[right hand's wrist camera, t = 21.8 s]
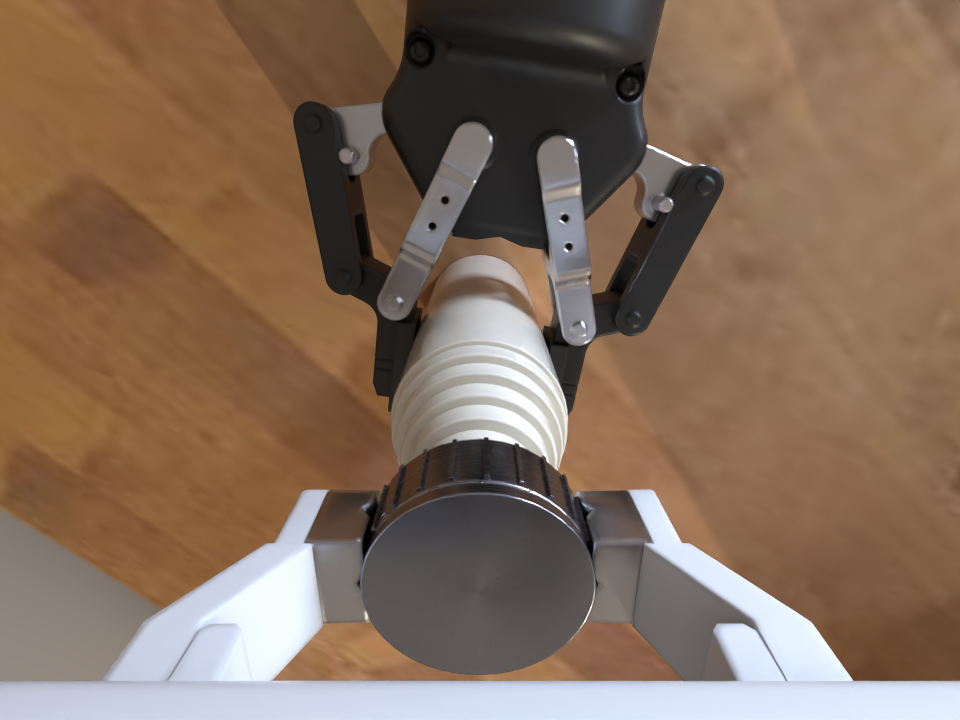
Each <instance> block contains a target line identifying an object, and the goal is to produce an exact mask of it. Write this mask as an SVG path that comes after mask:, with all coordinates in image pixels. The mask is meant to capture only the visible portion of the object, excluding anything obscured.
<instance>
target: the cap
mask: <svg viewBox="0 0 960 720" xmlns="http://www.w3.org/2000/svg"><path fill="white" fill-rule="evenodd" d="M370 529H371V538H370V541H369V545H368V548H367V551H366V555H365V558H364V562H363V566H362V569H361V578H360V586H361V595H362V600H363V604H364V607H365V610H366V612H367V614H368V617H369V619H370V620H371V622H372V623H373V625H374V627H375V628H376V629H377V631H378V632H379V633H380V634H381V636H382V637H383V638H384V639H385V640H386V641H387V642H388V643H390V644H391V645H392V646H393V647H394V648H396V649H397V650H398V651H400V652H401V653H402V654H404V655H406V656H408V657H409V658H411V659H413V660H415V661H417V662H419V663H422V664H424V665H426V666H429V667H432V668H435V669H439V670H442V671H447V672H452V673H459V674H467V675H487V674H498V673H504V672H510V671H514V670H518V669H522V668H525V667H527V666H530V665H533V664H535V663H538V662H540V661H542V660H544V659H546V658H548V657H549V656H551V655H552V654H554V653H555V652H557V651H558V650H560V649H561V648H562V647H563V646H565V645H566V644H567V643H568V642H569V641H570V640H571V639H572V638H573V637H574V636H575V635H576V634H577V633H578V632H579V630H580V629H581V627H582V626H583V624H584V623H585V621H586V619H587V617H588V615H589V613H590V611H591V608H592V605H593V602H594V597H595V590H596V575H595V570H594V564H593V561H592V557H591V553H590V551H589V546H588V544H589V543H590V538H589V534H588V531H587V527H586V523H585V520H584V516H583V513H582V510H581V507H580V503H579V499H578V496H576V497H574V495H573V492H572V491H571V489H570V487H569V485H568V481H567V478H566V476H565V474H563V475H561V474H560V473H559V472H558V471H557V470H556V469H555V468H554V467H553V466H552V465H551V464H549V463H548V462H547V460H546V457H545V456H543V455H542V456H541V457H540V456H538V455H536V454H534V453H533V452H531V451H529V450H528V449H525V448H524V447H520V446H519V444H518V443H515V444H510V443H506V442H503V441H496V440H489V438H488V437H484V439H469V440H460V441H457V439H454V440H452V442H450V443H446V444H441V445H438V446H436V447H434V448H432V449H430V450H428V448H426V449H424V450H423V453H422V454H420V455H419V456H417V457H416V458H414V459H413V460H411V461H410V462H409V463H407V464H406V465H403V464H402V465H401V466H400V468H399V471H398V473H397V474H396V475H395V476H394V478H393V479H392V480H391V482H390V483H389V485H388V486H387V485H384V487H383V490H382V494H381V497H380V501H379V504H378V507H377V511H376V514H375V518H374V521H373V524H371V526H370Z"/></svg>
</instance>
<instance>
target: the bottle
mask: <svg viewBox="0 0 960 720" xmlns="http://www.w3.org/2000/svg"><path fill="white" fill-rule="evenodd" d="M567 423H568V414H567V406H566V401H565V397H564V394H563V391H562V389H561V386H560V383H559V380H558V377H557V374H556V371H555V368H554V365H553V363H552V360H551V357H550V354H549V351H548V348H547V345H546V342H545V340H544V337H543V334H542V331H541V328H540V325H539V322H538V319H537V316H536V314H535V311H534V308H533V305H532V302H531V299H530V296H529V293H528V290H527V288H526V285H525V283H524V281H523V279H522V277H521V276H520V274H519V273H518V272H517V271H516V270H515V269H514V268H513V267H512V266H511V265H509V264H508V263H506V262H505V261H503V260H501V259H498V258H495V257H492V256H487V255H474V256H468V257H465V258H462V259H459V260H457V261H456V262H454V263H452V264H451V265H449V266H448V267H447V268H446V269H445V270H444V271H443V272H442V273H441V275H440V276H439V278H438V279H437V281H436V283H435V285H434V288H433V291H432V293H431V296H430V299H429V302H428V304H427V307H426V310H425V313H424V315H423V318H422V321H421V324H420V326H419V329H418V332H417V335H416V337H415V340H414V343H413V346H412V348H411V351H410V354H409V357H408V359H407V362H406V365H405V368H404V370H403V373H402V376H401V379H400V381H399V384H398V387H397V390H396V392H395V395H394V399H393V403H392V409H391V438H392V443H393V448H394V451H395V454H396V457H397V462H398V465H399V468H400V466H401V465H402V464H403V465H406V464H407V463H409V462H410V461H411V460H413V459H414V458H416V457H417V456H419V455H420V454H422V453H423V450H424V449H426V448H428V450H430V449H432V448H434V447H436V446H438V445H441V444H446V443H450V442H452V440H454V439H457V441H460V440H469V439H484V437H488V438H489V440H496V441H503V442H506V443H510V444H515V443H518V444H519V446H520V447H524V448H525V449H528V450H529V451H531V452H533V453H534V454H536V455H538V456H540V457H541V456H542V455H543V456H545V457H546V460H547V462H548V463H549V464H551V465H552V466H553V467H554V468H555V469H556V470H557V471H558V468H559V466H560V462H561V458H562V455H563V453H564V450H565V446H566V441H567Z"/></svg>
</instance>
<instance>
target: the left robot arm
mask: <svg viewBox="0 0 960 720" xmlns="http://www.w3.org/2000/svg"><path fill="white" fill-rule="evenodd" d="M664 3H665V0H408V1H407V13H406V26H405V38H404V50H403V56H402V61H401V64H400V67H399V70H398V73H397V75H396V77H395V79H394V81H393V82H392V84H391V85H390V87H389V88H388V90H387V91H386V94H385V96H384V99H383V102H380V103H370V104H361V105H352V106H343V107H334V108H332V107H329V106H326V105H323V104H320V103H317V102H305V103H303V104H301V105H300V106H299V107H298V108H297V110H296V111H295V114H294V118H293V123H294V129H295V133H296V138H297V143H298V148H299V153H300V158H301V162H302V167H303V172H304V177H305V182H306V187H307V191H308V196H309V201H310V206H311V211H312V216H313V220H314V225H315V230H316V235H317V240H318V245H319V249H320V254H321V259H322V264H323V269H324V274H325V278H326V282H327V284H328V286H329V287H330V288H331V290H333V291H334V292H336V293H338V294H341V295H349V294H350V295H352V296H354V297H356V298H358V299H360V300H362V301H364V302H366V303H367V304H369V305H370V306H371V307H372V308H373V310H374V311H375V313H376V315H377V320H378V326H377V339H376V351H375V364H374V377H373V384H374V387H375V390H376V393H377V395H379V396H386V397H389V406H388V410H389V411H390V412H391V409H392V403H393V399H394V395H395V392H396V390H397V387H398V384H399V381H400V379H401V376H402V373H403V370H404V368H405V365H406V362H407V359H408V357H409V354H410V351H411V348H412V346H413V343H414V340H415V337H416V335H417V332H418V329H419V326H420V323H421V314H422V308H417V300H418V296H419V294H420V292H421V290H422V288H423V286H424V284H425V282H426V280H427V278H428V276H429V274H430V272H431V270H432V268H433V266H434V264H435V262H436V260H437V259H438V257H439V255H440V253H441V251H442V249H443V247H444V245H445V243H446V241H447V239H448V237H449V235H450V233H451V232H452V233H453V236H455V237H462V238H469V239H483V238H492V237H502V238H504V239H507V240H509V241H511V242H513V243H516V244H518V245H520V246H523V247H530V248H536V249H542V255H543V261H544V265H545V269H546V273H547V279H548V285H549V292H550V298H551V304H552V310H553V316H552V321H551V326H550V327H549V326H544V329H543V337H544V340H545V342H546V345H547V348H548V351H549V354H550V357H551V360H552V363H553V365H554V368H555V371H556V374H557V377H558V380H559V383H560V386H561V389H562V391H563V394H564V397H565V401H566V406H567V414H568V415H569V413H570V412H571V411H572V408H573V404H574V400H575V395H576V391H577V385H578V383H579V378H580V374H581V370H582V365H583V361H584V357H585V353H586V350H587V348H588V346H589V345H590V344H591V342H593V341H594V340H595V339H597V338H599V337H601V336H606V335H611V334H616V333H622V334H624V335H627V336H636V335H639V334H641V333H642V332H644V331H645V330H646V329H647V327H648V326H649V324H650V322H651V320H652V318H653V317H654V315H655V313H656V311H657V309H658V307H659V306H660V304H661V302H662V300H663V298H664V296H665V295H666V293H667V291H668V289H669V287H670V286H671V284H672V282H673V280H674V278H675V276H676V275H677V273H678V271H679V269H680V267H681V265H682V264H683V262H684V260H685V258H686V256H687V254H688V253H689V251H690V249H691V247H692V245H693V244H694V242H695V240H696V238H697V236H698V234H699V233H700V231H701V229H702V227H703V225H704V223H705V222H706V220H707V218H708V216H709V214H710V212H711V211H712V209H713V207H714V205H715V203H716V202H717V200H718V198H719V196H720V194H721V192H722V190H723V186H724V179H723V176H722V174H721V172H720V171H719V170H718V169H717V168H715V167H713V166H705V165H702V164H688V163H686V162H684V161H682V160H680V159H678V158H675V157H673V156H671V155H669V154H667V153H665V152H662V151H660V150H658V149H656V148H654V147H651V146H649V145H647V144H648V136H647V130H646V127H645V123H644V119H643V110H642V101H643V93H644V88H645V84H646V80H647V76H648V72H649V68H650V64H651V59H652V55H653V51H654V46H655V42H656V38H657V33H658V29H659V25H660V21H661V16H662V12H663V8H664ZM387 135H388V137H389V138H390V140H391V142H392V144H393V146H394V148H395V150H396V151H397V153H398V155H399V157H400V159H401V161H402V162H403V164H404V166H405V168H406V170H407V172H408V174H409V175H410V177H411V179H412V181H413V183H414V185H415V186H416V188H417V190H418V192H419V194H420V196H421V198H422V199H423V201H422V204H421V206H420V208H419V210H418V212H417V214H416V216H415V218H414V220H413V222H412V224H411V227H410V229H409V231H408V233H407V235H406V237H405V239H404V241H403V243H402V246H401V248H400V251H399V254H398V256H397V258H396V260H395V262H394V264H393V266H392V267H390V266H388V265H386V264H384V263H382V262H380V261H378V260H377V259H375V258H374V257H373V251H372V245H371V239H370V233H369V227H368V222H367V216H366V210H365V204H364V198H363V192H362V186H361V181H360V175H362V174H365V173H367V172H369V171H370V170H371V168H372V167H373V165H374V162H375V148H376V145H377V143H378V142H379V141H380V140H381V139H382V138H383V137H385V136H387ZM631 175H633V177H634V178H635V180H636V183H637V193H636V196H635V199H634V207H635V210H636V212H637V213H638V215H639V216H641V217H642V219H641V221H640V223H639V225H638V227H637V229H636V231H635V232H634V234H633V236H632V238H631V240H630V242H629V244H628V246H627V248H626V250H625V252H624V254H623V256H622V258H621V260H620V262H619V264H618V266H617V268H616V270H615V272H614V274H613V276H612V278H611V280H610V282H609V284H608V286H607V288H606V290H605V292H602V293H597V294H592V292H591V284H590V278H591V265H590V257H589V249H588V242H587V234H586V226H585V220H586V219H587V218H588V217H589V216H590V215H592V214H593V213H594V212H595V211H596V210H597V209H598V208H599V207H600V206H601V205H602V204H603V203H604V202H605V201H606V200H607V199H608V198H609V197H610V196H611V195H612V194H613V193H614V192H615V191H616V190H617V189H618V188H619V187H620V186H621V185H622V184H623V183H624V182H625V181H626V180H627V179H628V178H629V177H630V176H631Z"/></svg>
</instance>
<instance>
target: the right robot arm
mask: <svg viewBox="0 0 960 720" xmlns="http://www.w3.org/2000/svg"><path fill="white" fill-rule="evenodd" d="M576 496H578V499H579V503H580V507H581V510H582V513H583V516H584V520H585V523H586V527H587V531H588V534H589V538H590V543H589V544H588V546H589V551H590V553H591V557H592V561H593V564H594V570H595V575H596V590H595V597H594V602H593V605H592V608H591V611H590V613H589V615H588V617H587V619H586V622H602V623H633V624H632V626H633V627H634V628H635V629H636V630H637V631H638V632H639V633H640V634H641V635H642V636H643V638H644V639H645V640H646V641H647V642H648V643H649V644H650V645H651V646H652V647H653V648H654V649H655V650H656V651H657V653H658V654H659V655H660V656H661V657H662V658H663V659H664V660H665V661H666V662H667V663H668V664H669V665H670V666H671V668H672V669H673V670H674V671H675V672H676V673H677V674H678V675H679V676H680V677H681V678H682V679H683V680H684V681H272V680H273V679H274V678H275V677H276V676H277V675H278V674H279V673H280V671H281V670H282V669H283V668H284V667H285V666H286V665H287V664H288V663H289V662H290V661H291V660H292V659H293V658H294V657H295V656H296V655H297V653H298V652H299V651H300V650H301V649H302V648H303V647H304V646H305V645H306V644H307V643H308V642H309V641H310V640H311V639H312V638H313V637H314V635H315V634H316V633H317V632H318V631H319V630H320V629H321V628H322V627H323V623H352V622H370V619H369V617H368V614H367V612H366V610H365V607H364V604H363V600H362V595H361V586H360V578H361V569H362V566H363V562H364V558H365V555H366V551H367V548H368V545H369V541H370V538H371V529H370V526H371V524H373V521H374V518H375V514H376V511H377V507H378V504H379V501H380V497H381V493H380V491H370V490H304V491H303V492H302V493H301V494H300V495H299V497H298V499H297V501H296V503H295V505H294V507H293V508H292V510H291V512H290V514H289V516H288V518H287V520H286V521H285V523H284V525H283V527H282V529H281V531H280V533H279V534H278V536H277V538H276V540H275V542H274V543H266V544H264V545H263V546H261V547H260V548H258V549H257V550H255V551H253V552H252V553H250V554H249V555H247V556H246V557H244V558H242V559H241V560H239V561H238V562H236V563H235V564H233V565H231V566H230V567H228V568H227V569H225V570H224V571H222V572H221V573H219V574H217V575H216V576H214V577H213V578H211V579H210V580H208V581H206V582H205V583H203V584H202V585H200V586H199V587H197V588H195V589H194V590H192V591H191V592H189V593H188V594H186V595H184V596H183V597H181V598H180V599H178V600H177V601H175V602H173V603H172V604H170V605H169V606H167V607H166V608H164V609H162V610H161V611H159V612H158V613H156V614H155V615H153V616H151V617H150V618H148V619H147V620H145V621H144V622H143V623H142V625H141V626H140V627H139V629H138V630H137V632H136V633H135V634H134V636H133V637H132V638H131V640H130V641H129V643H128V644H127V645H126V647H125V648H124V650H123V651H122V652H121V654H120V655H119V656H118V658H117V659H116V660H115V662H114V663H113V664H112V666H111V667H110V669H109V670H108V671H107V673H106V674H105V675H104V677H103V678H102V680H101V681H0V720H960V681H853V680H852V678H851V677H850V676H849V674H848V673H847V671H846V670H845V669H844V667H843V666H842V664H841V663H840V662H839V660H838V659H837V657H836V656H835V655H834V653H833V652H832V650H831V649H830V647H829V646H828V645H827V643H826V642H825V640H824V639H823V638H822V636H821V635H820V633H819V632H818V631H817V629H816V628H815V626H814V625H813V624H812V622H811V621H809V620H807V619H806V618H804V617H803V616H801V615H800V614H798V613H797V612H795V611H793V610H792V609H790V608H789V607H787V606H786V605H784V604H783V603H781V602H779V601H778V600H776V599H775V598H773V597H772V596H770V595H769V594H767V593H766V592H764V591H762V590H761V589H759V588H758V587H756V586H755V585H753V584H752V583H750V582H748V581H747V580H745V579H744V578H742V577H741V576H739V575H738V574H736V573H735V572H733V571H731V570H730V569H728V568H727V567H725V566H724V565H722V564H721V563H719V562H717V561H716V560H714V559H713V558H711V557H710V556H708V555H707V554H705V553H703V552H702V551H700V550H699V549H697V548H696V547H694V546H693V545H691V544H690V543H681V541H680V539H679V537H678V535H677V533H676V531H675V530H674V528H673V526H672V524H671V522H670V520H669V518H668V516H667V515H666V513H665V511H664V509H663V507H662V505H661V503H660V501H659V500H658V498H657V496H656V494H655V492H654V491H652V490H651V489H642V490H626V491H576V494H575V497H576Z"/></svg>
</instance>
